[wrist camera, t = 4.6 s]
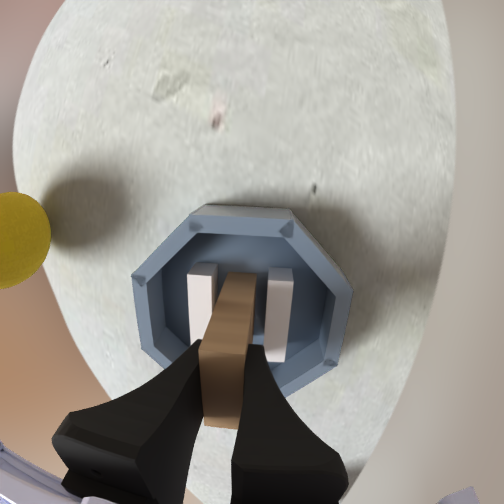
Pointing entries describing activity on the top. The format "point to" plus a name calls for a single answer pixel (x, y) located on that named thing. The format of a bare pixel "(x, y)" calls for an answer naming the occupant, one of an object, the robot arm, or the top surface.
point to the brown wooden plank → (227, 351)
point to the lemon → (21, 237)
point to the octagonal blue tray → (267, 289)
